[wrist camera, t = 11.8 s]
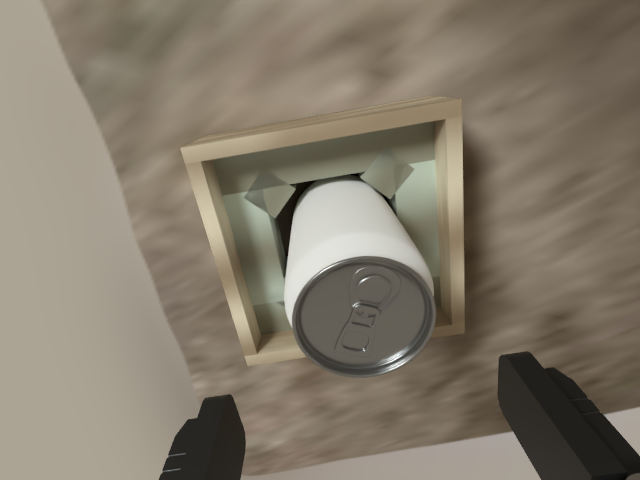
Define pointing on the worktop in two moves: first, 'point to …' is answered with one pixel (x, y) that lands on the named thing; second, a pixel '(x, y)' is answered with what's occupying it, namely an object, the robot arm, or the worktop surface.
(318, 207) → the can
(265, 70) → the worktop surface
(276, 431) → the worktop surface
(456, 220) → the bore box
